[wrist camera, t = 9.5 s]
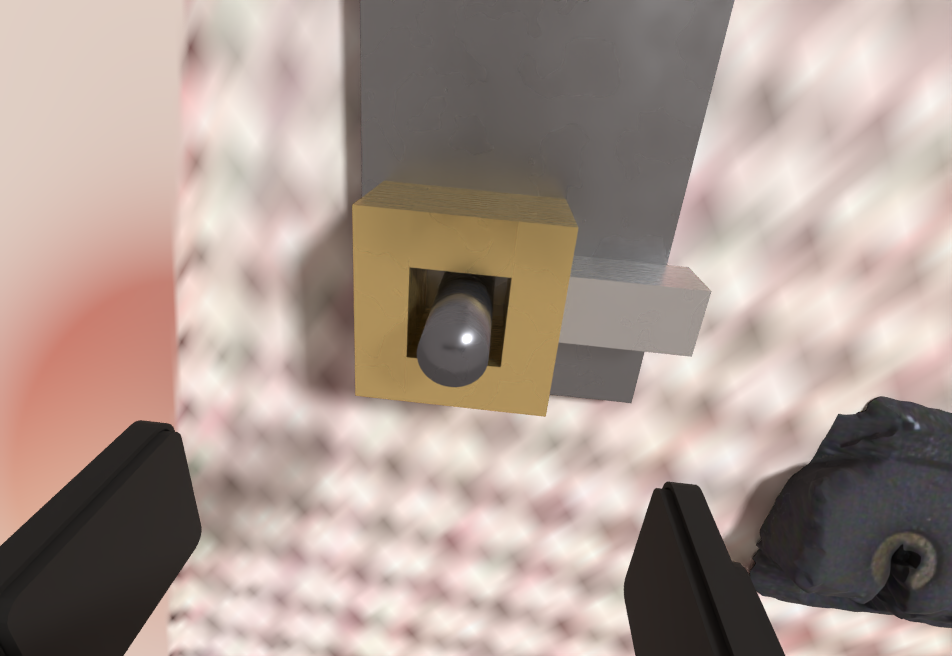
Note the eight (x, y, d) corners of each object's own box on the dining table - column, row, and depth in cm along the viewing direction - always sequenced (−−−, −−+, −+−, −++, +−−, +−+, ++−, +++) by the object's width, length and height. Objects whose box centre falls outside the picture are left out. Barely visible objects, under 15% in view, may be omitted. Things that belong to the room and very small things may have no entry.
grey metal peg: (446, 247, 24) (418, 320, 17) (498, 253, 24) (492, 327, 17) (443, 295, 25) (415, 383, 18) (492, 301, 25) (485, 390, 18)
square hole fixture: (369, -33, 21) (313, -78, 15) (746, 2, 20) (840, -31, 15) (370, 360, 29) (333, 431, 23) (644, 389, 28) (678, 470, 22)
